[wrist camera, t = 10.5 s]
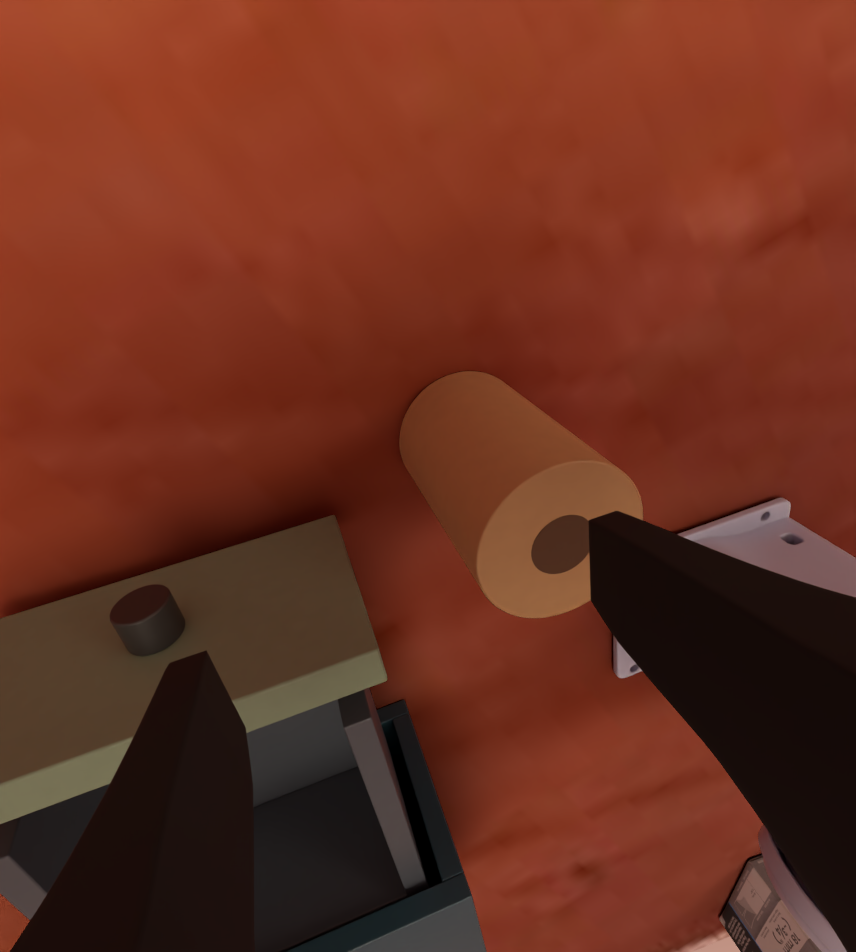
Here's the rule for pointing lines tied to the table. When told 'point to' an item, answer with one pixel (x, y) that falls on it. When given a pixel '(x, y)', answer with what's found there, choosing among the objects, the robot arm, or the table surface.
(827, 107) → the table surface
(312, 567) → the drawer
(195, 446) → the table surface
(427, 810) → the cabinet
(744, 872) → the blue and grey package
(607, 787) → the table surface
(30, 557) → the table surface
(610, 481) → the paper roll
